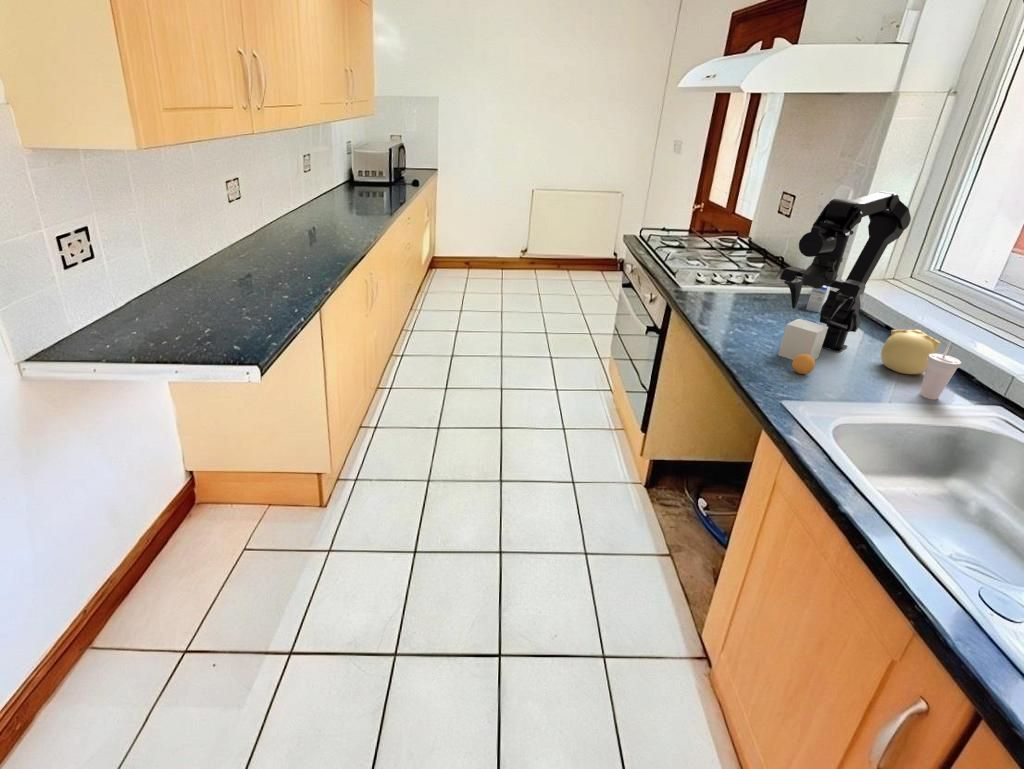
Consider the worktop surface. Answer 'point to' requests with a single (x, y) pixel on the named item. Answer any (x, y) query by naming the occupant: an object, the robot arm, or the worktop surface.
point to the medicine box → (818, 298)
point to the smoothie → (938, 373)
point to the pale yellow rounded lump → (908, 351)
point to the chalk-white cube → (802, 339)
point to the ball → (803, 364)
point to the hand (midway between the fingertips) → (811, 313)
